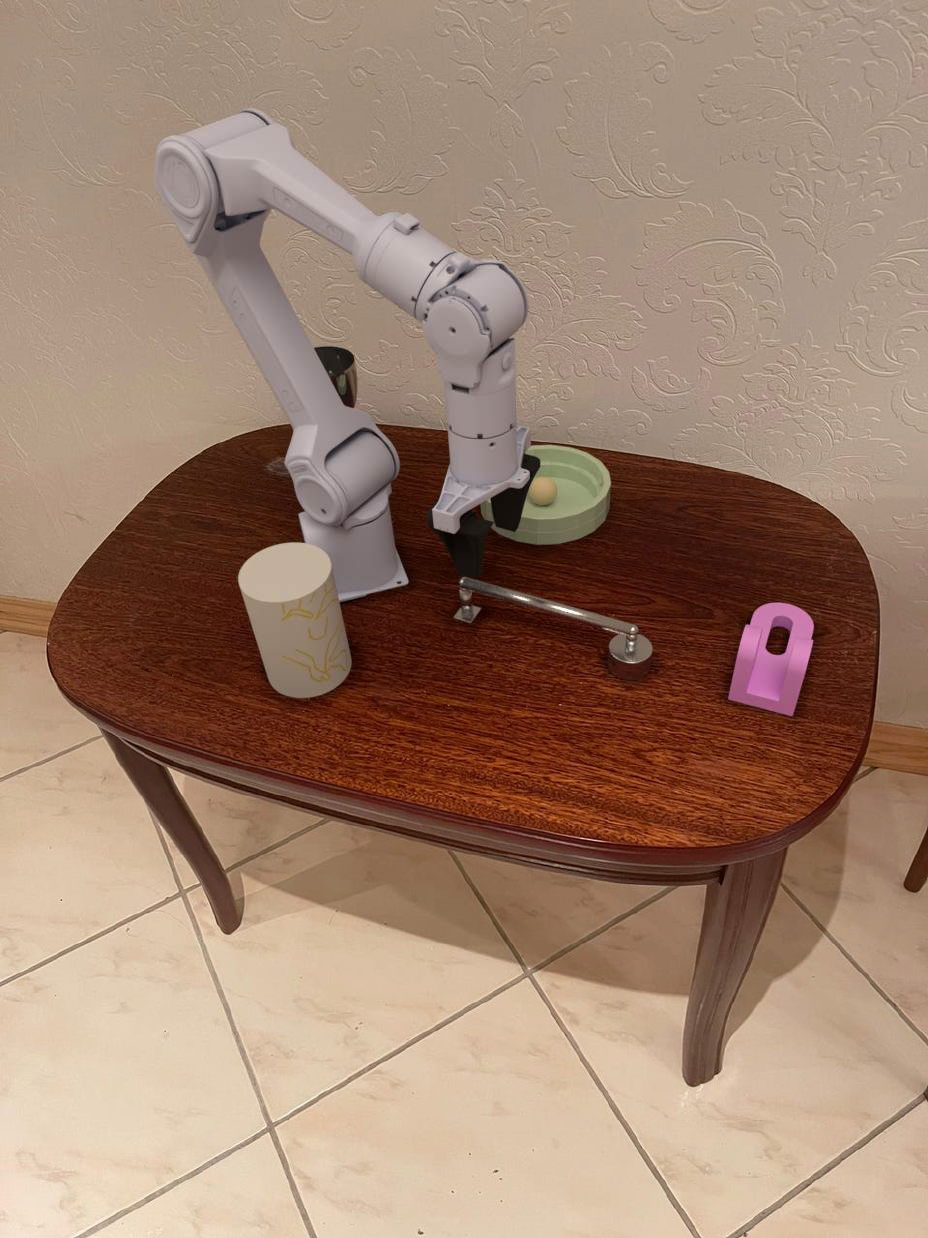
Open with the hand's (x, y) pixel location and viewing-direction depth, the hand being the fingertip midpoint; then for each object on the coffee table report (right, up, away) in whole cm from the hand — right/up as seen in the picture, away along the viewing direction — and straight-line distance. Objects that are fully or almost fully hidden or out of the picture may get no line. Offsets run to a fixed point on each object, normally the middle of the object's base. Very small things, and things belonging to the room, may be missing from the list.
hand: (488, 550), depth 82 cm
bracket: (+27, -10, +1) cm, 29 cm away
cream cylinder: (-17, -11, +4) cm, 21 cm away
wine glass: (-18, +11, +28) cm, 35 cm away
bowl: (+7, +6, +20) cm, 22 cm away
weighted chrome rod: (+5, -8, +4) cm, 11 cm away
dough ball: (+7, +9, +18) cm, 21 cm away
